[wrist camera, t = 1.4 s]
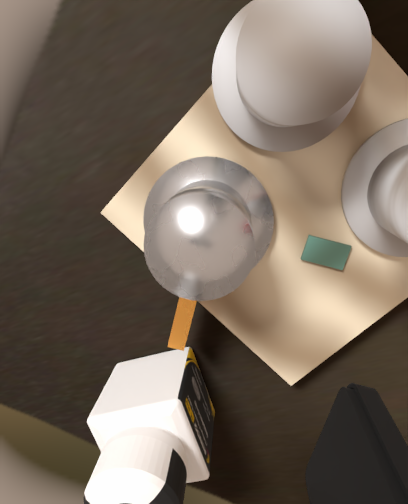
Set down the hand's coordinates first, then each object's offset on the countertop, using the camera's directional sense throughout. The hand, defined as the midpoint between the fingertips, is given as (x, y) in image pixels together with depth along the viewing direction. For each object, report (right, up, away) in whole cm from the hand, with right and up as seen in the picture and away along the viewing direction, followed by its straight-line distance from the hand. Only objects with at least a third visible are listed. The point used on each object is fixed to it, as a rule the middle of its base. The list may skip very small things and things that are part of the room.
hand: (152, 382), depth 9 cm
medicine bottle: (-2, -9, +24) cm, 25 cm away
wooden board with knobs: (+8, +7, +18) cm, 21 cm away
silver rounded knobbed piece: (+1, +3, +17) cm, 18 cm away
